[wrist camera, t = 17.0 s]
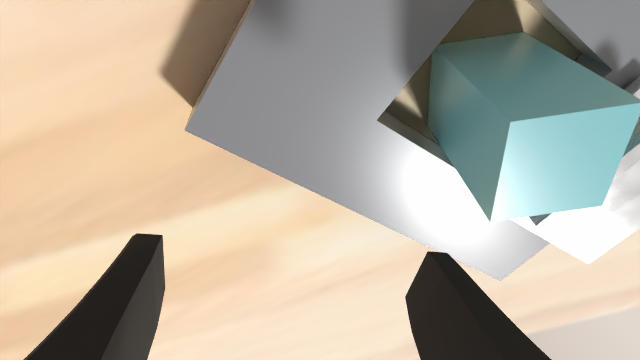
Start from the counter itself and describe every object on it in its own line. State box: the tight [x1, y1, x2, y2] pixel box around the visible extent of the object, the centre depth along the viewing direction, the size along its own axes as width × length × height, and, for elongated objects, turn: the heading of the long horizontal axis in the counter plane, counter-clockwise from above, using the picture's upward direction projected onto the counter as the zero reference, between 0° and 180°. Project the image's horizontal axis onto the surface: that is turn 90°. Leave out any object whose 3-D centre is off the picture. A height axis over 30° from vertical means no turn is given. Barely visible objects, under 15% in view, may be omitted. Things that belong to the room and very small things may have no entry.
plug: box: [428, 32, 640, 222], centre depth 16 cm, size 4×4×7 cm
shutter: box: [511, 76, 640, 264], centre depth 19 cm, size 8×8×2 cm
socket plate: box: [185, 0, 640, 281], centre depth 17 cm, size 20×16×2 cm
